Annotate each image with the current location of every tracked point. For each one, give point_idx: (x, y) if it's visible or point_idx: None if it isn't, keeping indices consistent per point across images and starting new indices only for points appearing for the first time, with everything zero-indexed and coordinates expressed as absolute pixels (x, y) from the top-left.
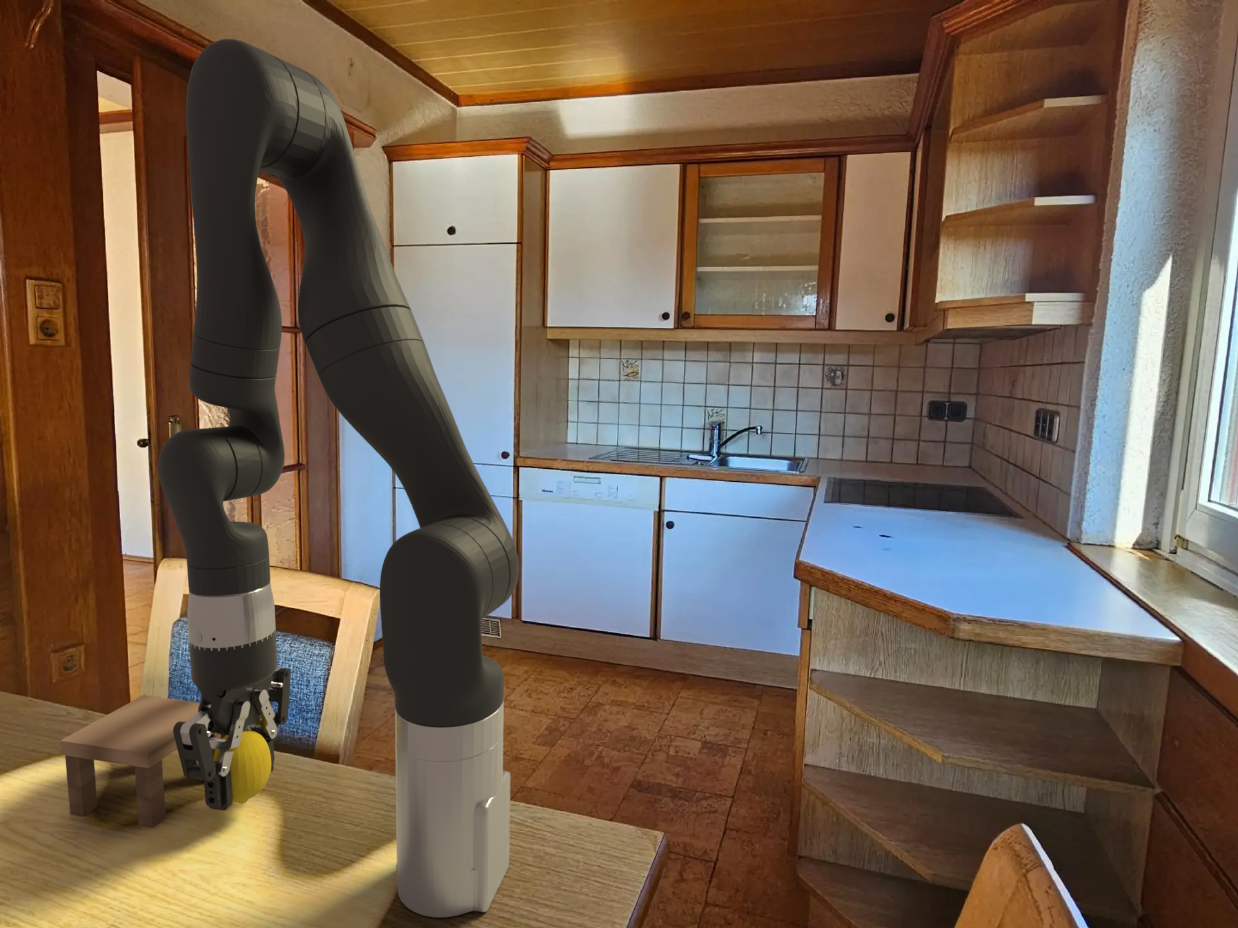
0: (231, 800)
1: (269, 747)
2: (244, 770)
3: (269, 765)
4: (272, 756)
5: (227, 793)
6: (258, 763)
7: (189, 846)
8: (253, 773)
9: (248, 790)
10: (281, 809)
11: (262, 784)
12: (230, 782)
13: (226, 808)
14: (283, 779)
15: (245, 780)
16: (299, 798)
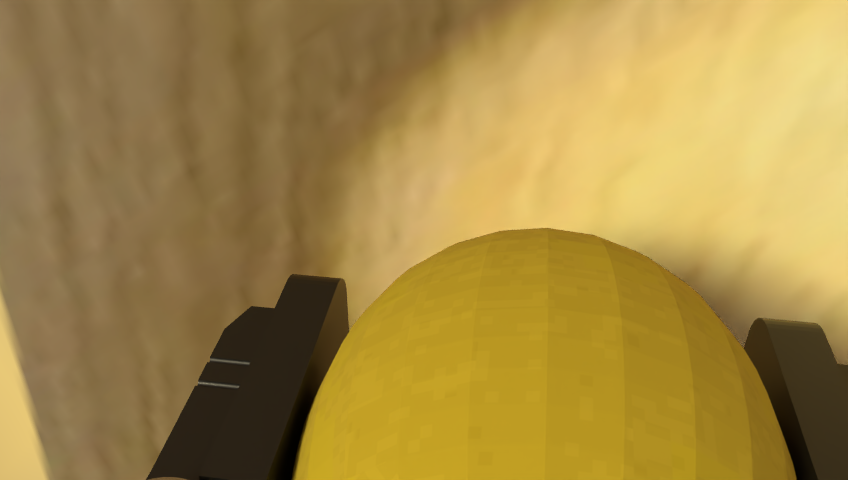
0: (778, 342)
1: (263, 433)
2: (761, 461)
3: (477, 306)
4: (265, 351)
5: (843, 408)
6: (642, 407)
7: (835, 338)
8: (692, 367)
9: (693, 294)
10: (446, 54)
11: (580, 239)
12: (824, 465)
13: (817, 328)
14: (179, 206)
15: (744, 376)
16: (309, 5)
